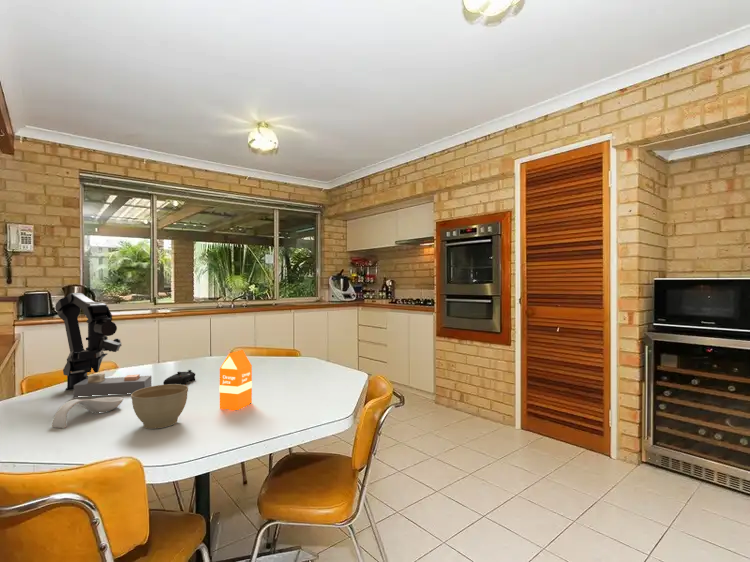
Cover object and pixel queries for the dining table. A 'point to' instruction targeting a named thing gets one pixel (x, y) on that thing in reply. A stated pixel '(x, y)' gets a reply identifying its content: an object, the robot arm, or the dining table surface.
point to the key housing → (111, 386)
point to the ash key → (96, 378)
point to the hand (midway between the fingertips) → (96, 372)
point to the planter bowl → (159, 404)
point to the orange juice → (235, 381)
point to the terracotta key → (131, 377)
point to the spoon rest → (90, 405)
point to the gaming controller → (180, 378)
